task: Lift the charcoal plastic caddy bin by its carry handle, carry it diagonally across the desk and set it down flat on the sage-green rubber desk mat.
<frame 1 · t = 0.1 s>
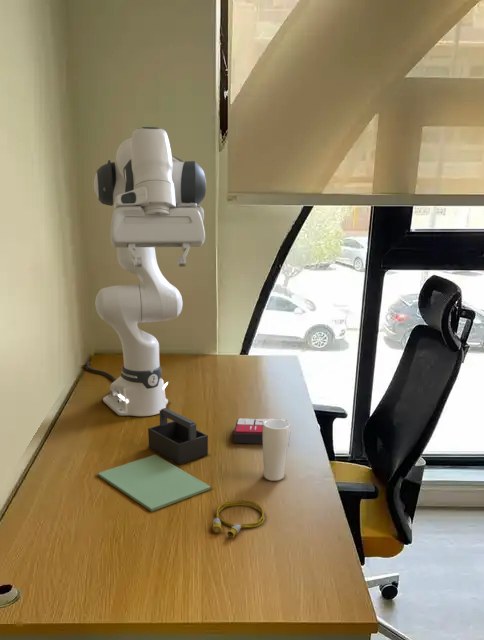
hand: (160, 266, 148), 54 cm above the table, tool tilted 30°, fingers open, 8 cm apart
calculator: (260, 437, 202), on the table
desk mat: (153, 482, 175), on the table
extension cord: (235, 520, 159), on the table
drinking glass: (273, 477, 179), on the table
caddy bin: (178, 451, 192), on the table
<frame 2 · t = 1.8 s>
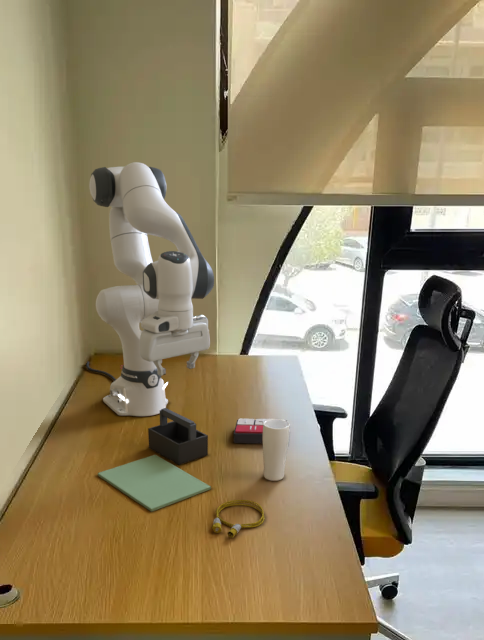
hand: (176, 371, 181), 23 cm above the table, tool pointing down, fingers open, 8 cm apart
nothing on the table moved.
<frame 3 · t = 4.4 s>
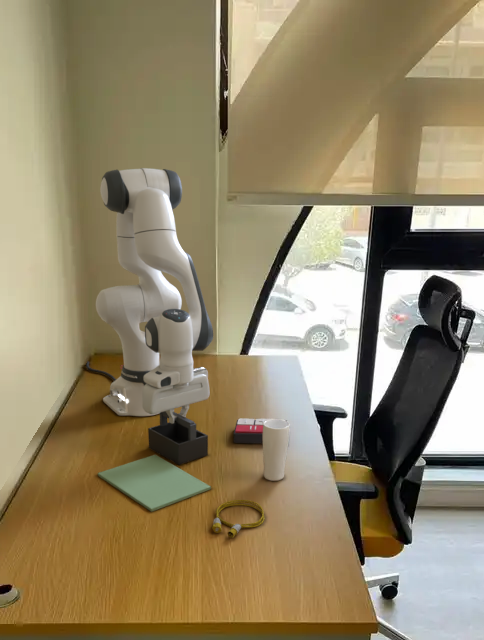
hand: (177, 421, 188), 9 cm above the table, tool pointing down, fingers closed on caddy bin
caddy bin: (178, 451, 192), on the table, touching gripper
everything else where it was.
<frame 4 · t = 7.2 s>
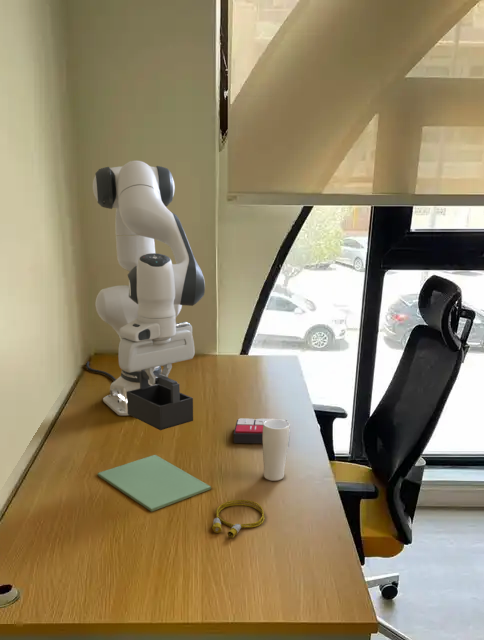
hand: (158, 382, 168), 25 cm above the table, tool pointing down, fingers closed on caddy bin
caddy bin: (160, 417, 172), point 16 cm above the table, touching gripper
everything else where it was.
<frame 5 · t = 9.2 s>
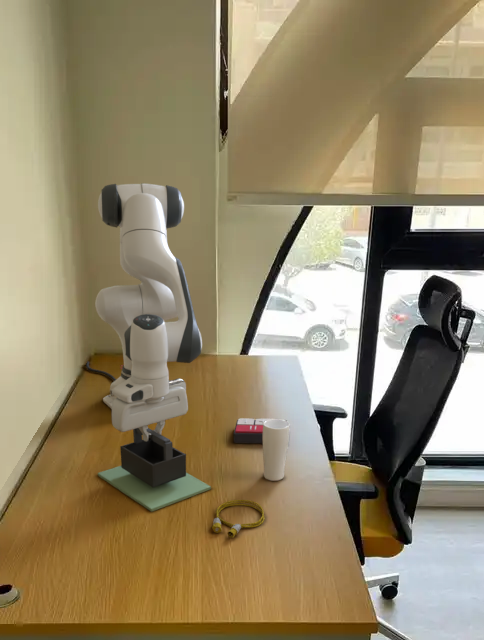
hand: (152, 438, 169), 12 cm above the table, tool pointing down, fingers closed on caddy bin
caddy bin: (153, 471, 173), point 3 cm above the table, touching gripper
everything else where it was.
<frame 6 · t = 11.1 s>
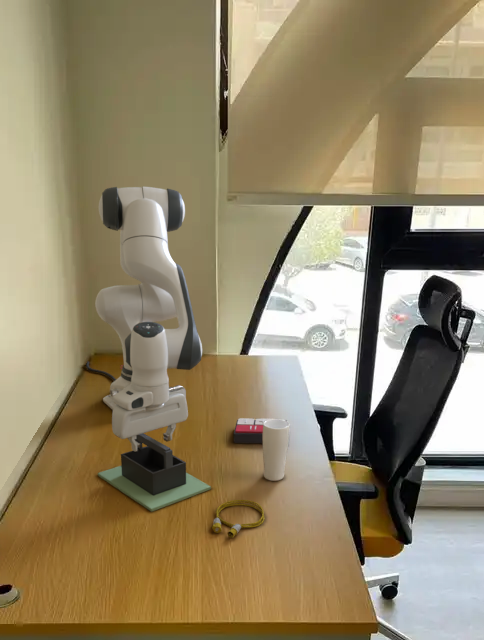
hand: (152, 445, 170), 10 cm above the table, tool pointing down, fingers open, 8 cm apart
caddy bin: (153, 479, 174), point 1 cm above the table, touching desk mat
everything else where it was.
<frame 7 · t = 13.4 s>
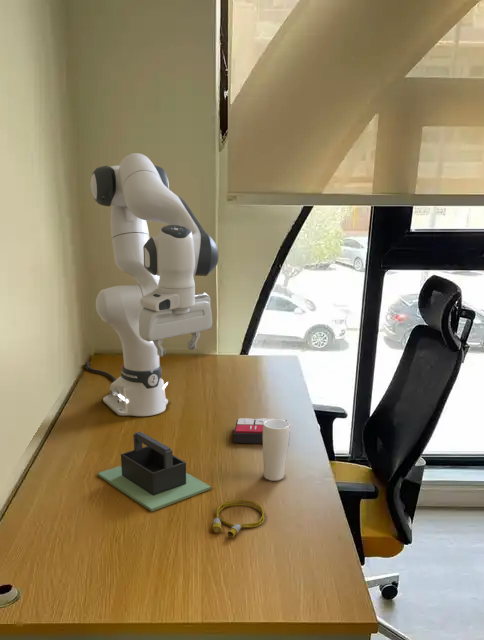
hand: (177, 352, 173), 30 cm above the table, tool pointing down, fingers open, 8 cm apart
nothing on the table moved.
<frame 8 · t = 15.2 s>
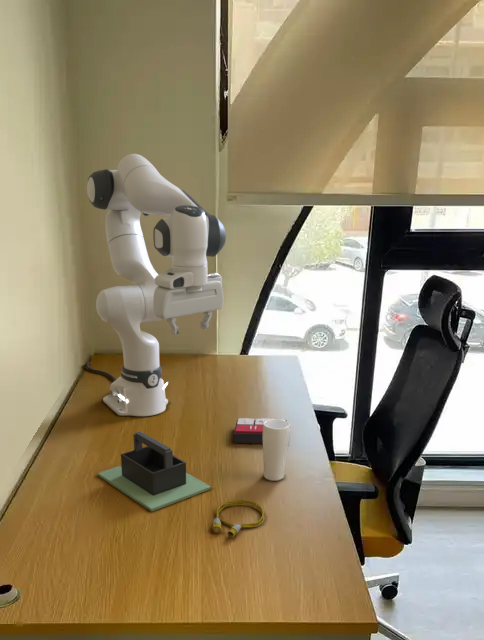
hand: (190, 330, 177), 34 cm above the table, tool pointing down, fingers open, 8 cm apart
nothing on the table moved.
at the end: caddy bin inside the target area on the desk mat (0.1 cm from its centre), point 0.8 cm above the desk mat's base; caddy bin tilted 0°; the gripper is holding nothing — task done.
